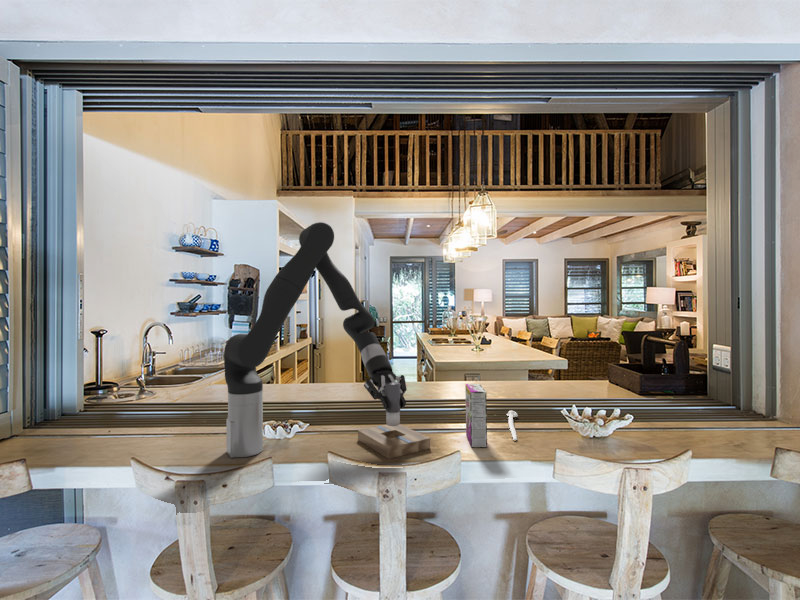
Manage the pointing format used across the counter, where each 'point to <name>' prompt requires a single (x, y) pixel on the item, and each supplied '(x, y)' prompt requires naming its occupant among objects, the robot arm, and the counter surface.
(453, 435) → the counter surface
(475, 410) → the candy bar box
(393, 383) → the grey peg
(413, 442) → the board
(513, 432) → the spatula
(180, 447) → the counter surface
